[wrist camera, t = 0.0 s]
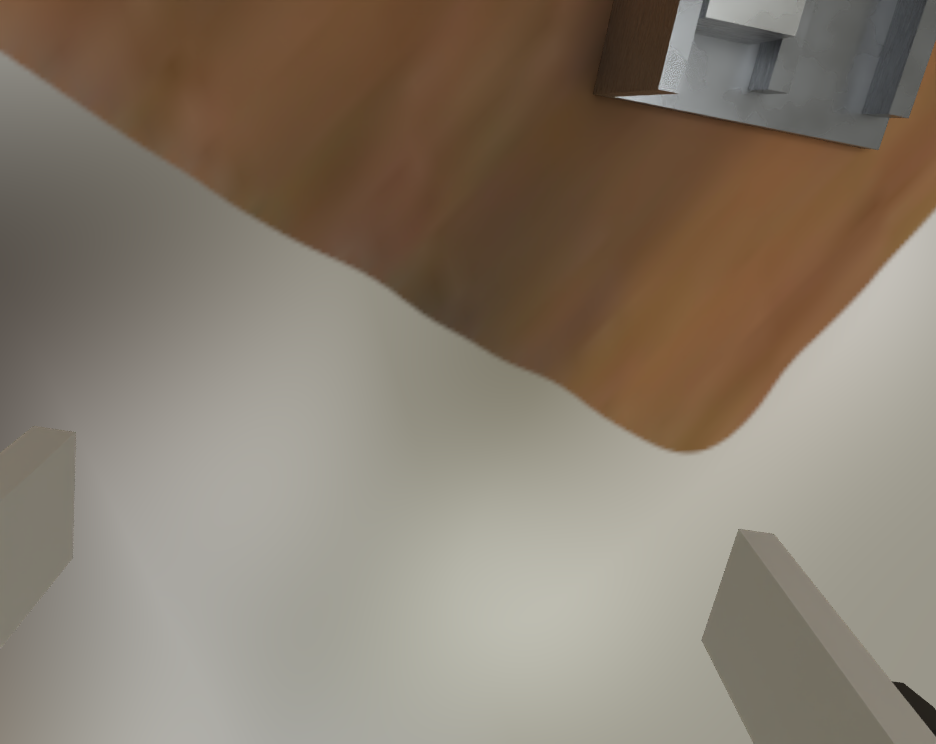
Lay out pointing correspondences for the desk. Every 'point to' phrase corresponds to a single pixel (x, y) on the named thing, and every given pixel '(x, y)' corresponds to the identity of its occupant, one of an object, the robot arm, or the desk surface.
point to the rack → (773, 62)
